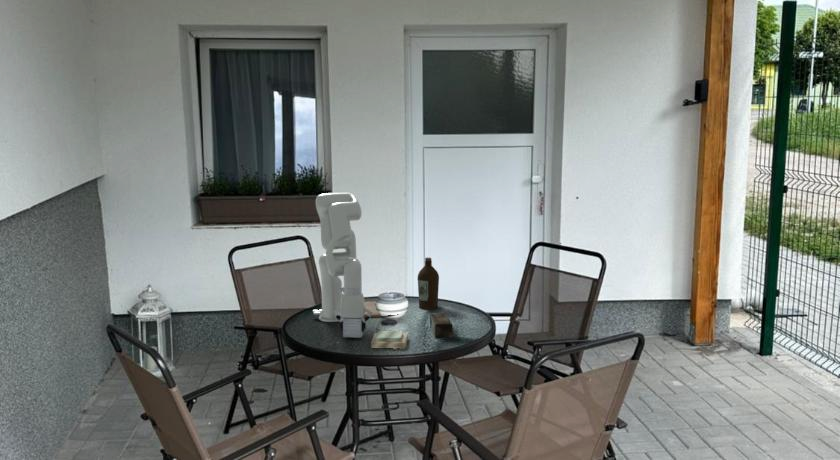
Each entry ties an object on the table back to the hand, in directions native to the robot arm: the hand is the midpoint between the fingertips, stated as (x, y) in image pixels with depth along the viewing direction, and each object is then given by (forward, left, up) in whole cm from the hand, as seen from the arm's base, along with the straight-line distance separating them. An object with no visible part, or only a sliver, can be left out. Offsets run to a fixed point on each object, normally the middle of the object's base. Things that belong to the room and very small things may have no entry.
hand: (353, 330), depth 313 cm
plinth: (+16, -6, -4) cm, 18 cm away
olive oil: (+29, +55, -4) cm, 63 cm away
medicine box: (0, 0, -3) cm, 3 cm away
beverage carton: (+37, +13, -4) cm, 40 cm away
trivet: (+3, +47, -4) cm, 47 cm away
